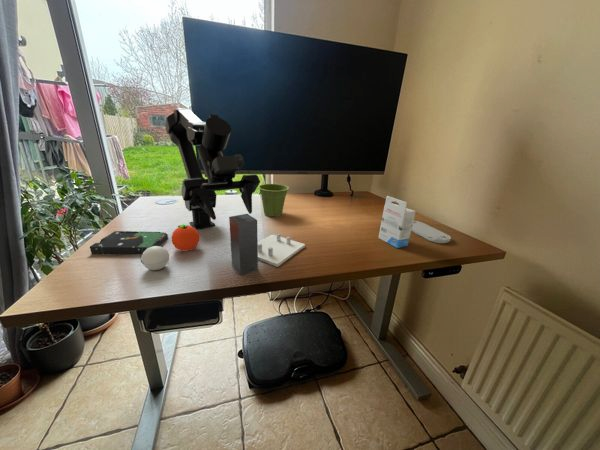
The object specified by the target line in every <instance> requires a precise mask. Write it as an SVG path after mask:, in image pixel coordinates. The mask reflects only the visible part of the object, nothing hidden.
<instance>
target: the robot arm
mask: <svg viewBox="0 0 600 450" xmlns="http://www.w3.org/2000/svg"><path fill="white" fill-rule="evenodd" d="M165 131H166V134H167V135H168V136H169V140H170V141H171V142H172V143H173V144H174V145H176V146H177V148H178V151H179V155H180V157H181V160H182V163H183V166H184V170H185V174H186V177H187V178H184V179H183V181H182V184H181V185H182V186H181V196H182V199H183V201H184V206H185V208H186V210H188V212H191V213H192V214H191V215H192V221H189V224H190V226H191V227H194V228H195V229H196V230H199V229H203V228H208V227H209V228H210V227H213V226H216V223H214V222H213V221H215V220H216V219H217V215H216V213H215V210H214V209H215V208H216V205H217V193H216V191H227V190H237V189H238V191H239V193H240V197H241V199H242V202H243V205H244V207H245V208H246V211H247V212H248V215H251V214H252V213H253V198H252V197H253V194H254V193H255V192H256V190H257V188H258V186H259V185H260V184H261V180H260V177H259V176H258V174H255V173H254V174H251V173H250V174H243V175H242V177H241V178H240V180H233V179H235V177H236V173H235V172H237V171H239V170H241V169H243V168H244V167H245V161H244V157H243V156H242V154H240V153H239V154H236V153H235V154H234V155H224V154H223V151H225V150H226V147H227V145H228V142H229V139H230V135H231V133H232V126H231V124H230V123H228V122H227V121H226V120H225V119H222V118H221V117H219V114H215V113H213V114H212V113H209V115H208V118H207V119H206V121H202V119H200V118H199V117H198V116H197V115H196V114H194V111H193V109H192V110H191V109H189V108H182V107H181V108H180V107H177V108H174V109H173V113H171V114H170V115H168V116H166V119H165ZM195 146H196V147H197V146H198V148H197V153H198V158H197V153H196V151H195ZM198 159H199V161H201V164H202V167H203V170H204V176H203V173H202V170H201V167H200V165H199V161H198ZM204 177H205V178H204ZM212 220H213V221H212Z"/></svg>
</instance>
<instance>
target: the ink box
mask: <svg viewBox="0 0 600 450" xmlns="http://www.w3.org/2000/svg"><path fill="white" fill-rule="evenodd" d="M385 198H386V199H385V203H384V207H383V212H382V217H381V222H380V226H379V227H380V228H379V233H378V239H380V240H381V241H383V242H385V243H386V244H389V245H391V246H392V247H394V248H395V249H399V248H404V247H408V246H409V241H410V238H411V237H410V236H411V234H412V231H411V229H412V225H413V221H415V215H416V210H413V209H410V208H408V207H407V205H408V203H407V201H404V200H401V199H398V198H395V197H393V196H390V195H387V196H386V197H385ZM396 203H397V204H396Z"/></svg>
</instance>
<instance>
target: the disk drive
mask: <svg viewBox="0 0 600 450" xmlns="http://www.w3.org/2000/svg"><path fill="white" fill-rule="evenodd" d="M168 240H169V235H168V233H167V232H164V231H163V232H161V231H136V230H135V231H131V230H130V231H129V230H128V231H127V230H126V231H125V230H116V231H115V230H114V231H113V232H111V233H110V234H108V235H106V236H104V237H103V238H102V239H101V240H100V241H99V242H95V243H93V244H92V245H90V246H89V249H90V252H91V253H90V254H91V255H120V256H121V255H124V256H126V255H127V256H129V255H130V256H132V255H133V256H136V255H137V256H138V255H139V256H142V254H143V252H144V251H145V250H146V249H147V248H150V247H152V246H161V247H162V246H163V245H164V243H166V242H167V241H168Z"/></svg>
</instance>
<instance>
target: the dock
mask: <svg viewBox="0 0 600 450" xmlns="http://www.w3.org/2000/svg"><path fill="white" fill-rule="evenodd" d="M304 248H306V244H305V243H302V242H298V241H296V240H293V239H292V237H291V236H286V237H284V236H283V237H282V236H281V233H276V234H271V235H269V236H268V235H267V237H264V238H263V239H260V240H259V241H258V261H260V262H264V263H266V264H269V265H271V266H274V267H277V268H278V267H280V266H281V265H282V264H284V263H285V262H286V261H287V260H289V259H291V258H292V257H293V256H295V255H296V254H298V252H300V251H301V250H303V249H304Z"/></svg>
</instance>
